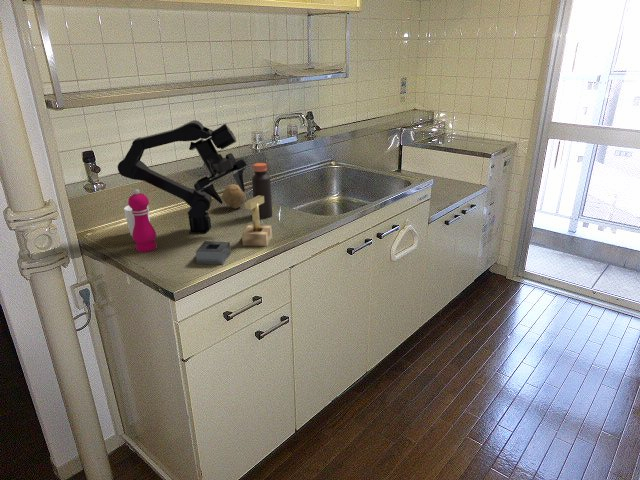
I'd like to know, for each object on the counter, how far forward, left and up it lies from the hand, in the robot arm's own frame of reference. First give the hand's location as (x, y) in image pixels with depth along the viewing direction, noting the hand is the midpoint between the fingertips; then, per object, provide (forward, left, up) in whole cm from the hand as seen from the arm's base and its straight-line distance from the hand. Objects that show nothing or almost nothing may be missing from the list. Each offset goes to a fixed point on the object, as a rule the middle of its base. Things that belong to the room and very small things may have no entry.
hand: (233, 197), depth 160 cm
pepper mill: (-26, -16, -13) cm, 33 cm away
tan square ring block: (+9, -7, -13) cm, 17 cm away
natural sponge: (-9, +26, -13) cm, 31 cm away
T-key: (+9, -7, -13) cm, 17 cm away
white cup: (-34, -4, -13) cm, 36 cm away
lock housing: (-1, -22, -13) cm, 25 cm away
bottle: (+5, +18, -13) cm, 23 cm away
